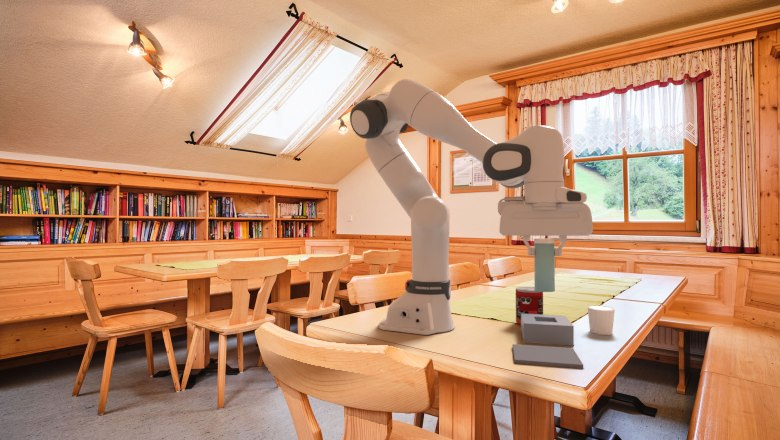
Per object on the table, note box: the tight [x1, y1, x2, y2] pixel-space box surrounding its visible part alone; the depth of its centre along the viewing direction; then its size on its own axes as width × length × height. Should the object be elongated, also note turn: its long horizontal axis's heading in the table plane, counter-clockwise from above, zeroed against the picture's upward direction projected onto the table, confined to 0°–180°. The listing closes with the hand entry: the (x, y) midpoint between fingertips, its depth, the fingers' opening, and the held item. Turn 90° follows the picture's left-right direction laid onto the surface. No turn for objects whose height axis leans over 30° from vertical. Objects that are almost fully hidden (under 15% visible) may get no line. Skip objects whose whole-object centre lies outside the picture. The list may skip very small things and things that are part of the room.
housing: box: [520, 314, 575, 347], centre depth 111 cm, size 12×12×5 cm
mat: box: [512, 343, 584, 370], centre depth 95 cm, size 14×12×1 cm
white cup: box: [587, 305, 616, 336], centre depth 117 cm, size 7×7×7 cm
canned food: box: [515, 286, 544, 326], centre depth 126 cm, size 8×8×11 cm
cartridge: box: [533, 238, 556, 293], centre depth 95 cm, size 4×4×12 cm
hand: (544, 255), depth 95 cm, fingers closed on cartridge, 4 cm apart
